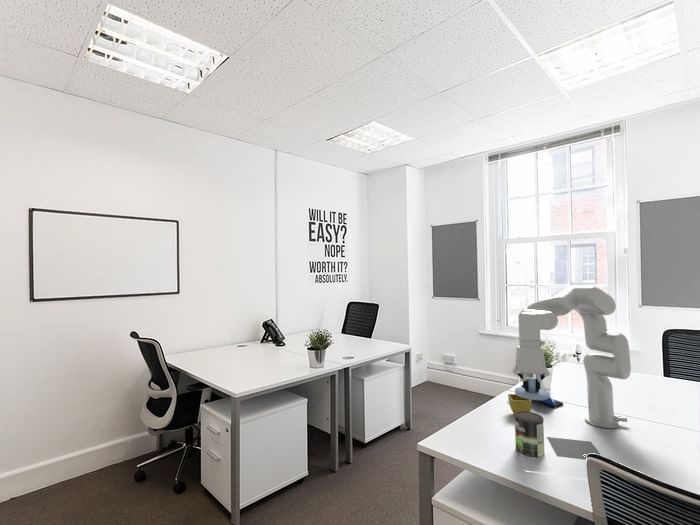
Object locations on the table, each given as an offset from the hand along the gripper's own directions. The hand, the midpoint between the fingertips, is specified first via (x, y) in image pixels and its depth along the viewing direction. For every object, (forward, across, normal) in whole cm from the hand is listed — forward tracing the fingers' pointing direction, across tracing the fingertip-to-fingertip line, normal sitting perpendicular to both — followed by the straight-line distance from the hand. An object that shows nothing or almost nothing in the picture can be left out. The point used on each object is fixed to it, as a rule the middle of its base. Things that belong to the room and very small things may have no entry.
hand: (531, 390), depth 136 cm
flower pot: (+24, -1, -37) cm, 44 cm away
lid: (+2, 0, 0) cm, 2 cm away
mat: (+24, -16, -6) cm, 29 cm away
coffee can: (+24, +2, 0) cm, 24 cm away
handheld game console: (+24, -15, -57) cm, 64 cm away
